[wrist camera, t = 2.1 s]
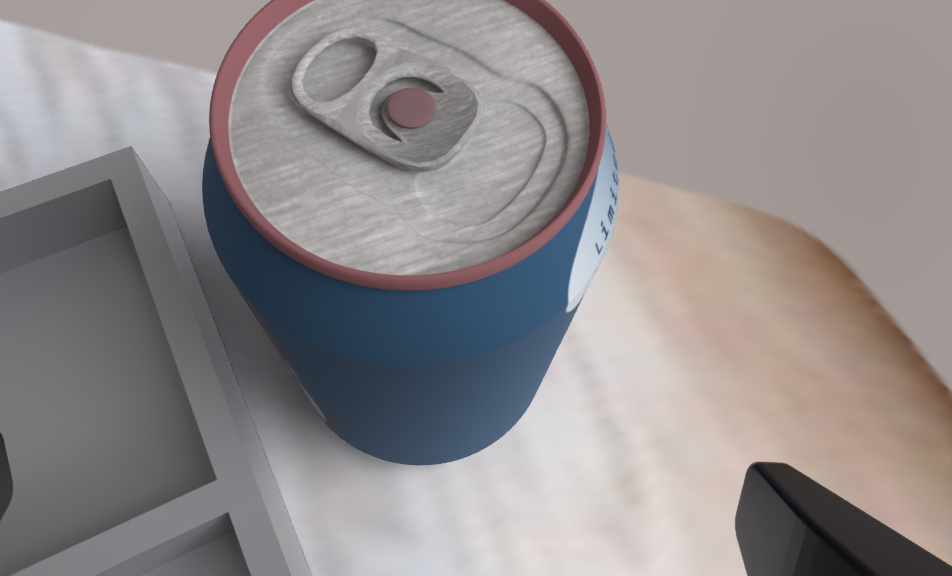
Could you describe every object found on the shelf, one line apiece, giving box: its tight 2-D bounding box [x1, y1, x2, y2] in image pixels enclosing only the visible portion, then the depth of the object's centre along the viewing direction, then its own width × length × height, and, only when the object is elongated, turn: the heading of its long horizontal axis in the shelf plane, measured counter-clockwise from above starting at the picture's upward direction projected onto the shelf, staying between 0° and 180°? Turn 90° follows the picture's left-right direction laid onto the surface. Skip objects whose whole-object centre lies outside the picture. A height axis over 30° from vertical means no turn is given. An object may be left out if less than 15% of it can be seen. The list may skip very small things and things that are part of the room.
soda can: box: [202, 0, 619, 465], centre depth 16 cm, size 7×7×12 cm
